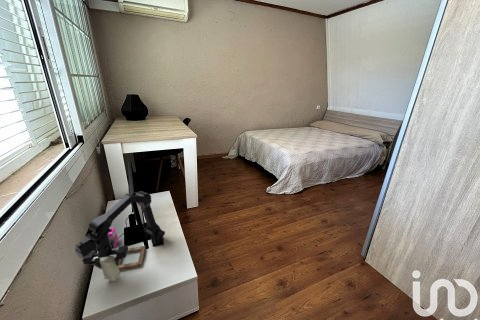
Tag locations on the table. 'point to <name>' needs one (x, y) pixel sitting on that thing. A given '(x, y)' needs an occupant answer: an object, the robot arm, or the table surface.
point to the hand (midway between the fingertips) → (109, 266)
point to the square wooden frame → (135, 264)
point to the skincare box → (109, 268)
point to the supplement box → (113, 236)
